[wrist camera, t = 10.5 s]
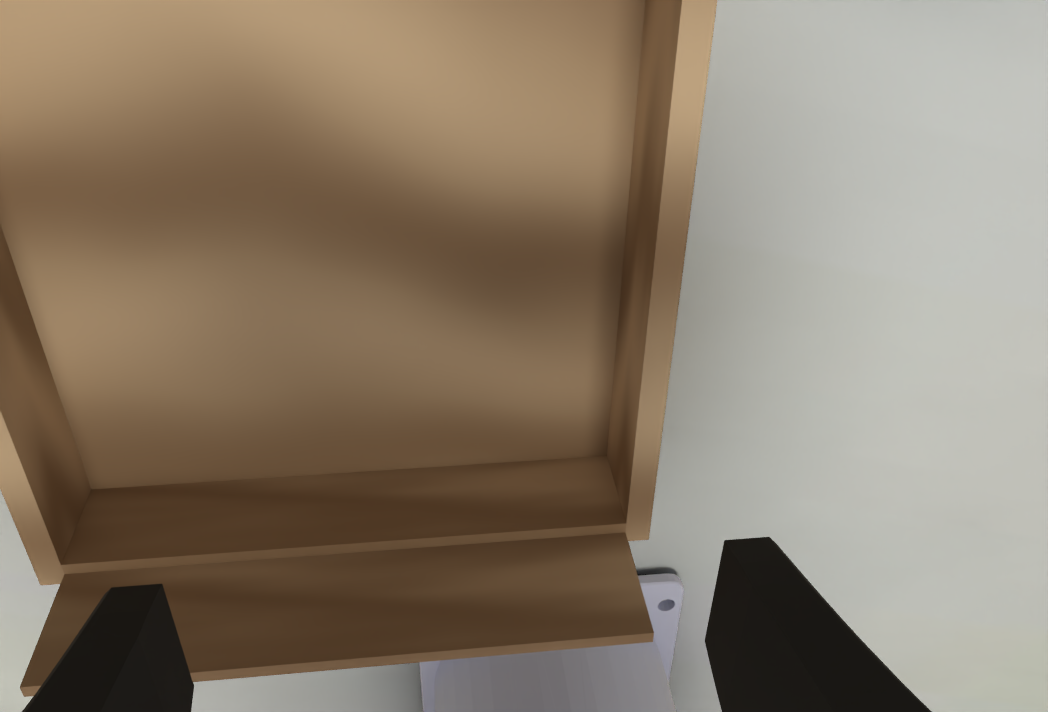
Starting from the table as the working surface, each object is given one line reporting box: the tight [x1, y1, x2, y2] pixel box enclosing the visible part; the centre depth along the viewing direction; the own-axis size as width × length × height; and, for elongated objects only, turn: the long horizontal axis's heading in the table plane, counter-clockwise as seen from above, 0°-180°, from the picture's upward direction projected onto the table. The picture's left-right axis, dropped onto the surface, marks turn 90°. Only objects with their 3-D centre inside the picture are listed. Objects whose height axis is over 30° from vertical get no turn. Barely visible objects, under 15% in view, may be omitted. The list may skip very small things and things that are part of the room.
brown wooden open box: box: [0, 0, 717, 697], centre depth 17 cm, size 15×14×6 cm
